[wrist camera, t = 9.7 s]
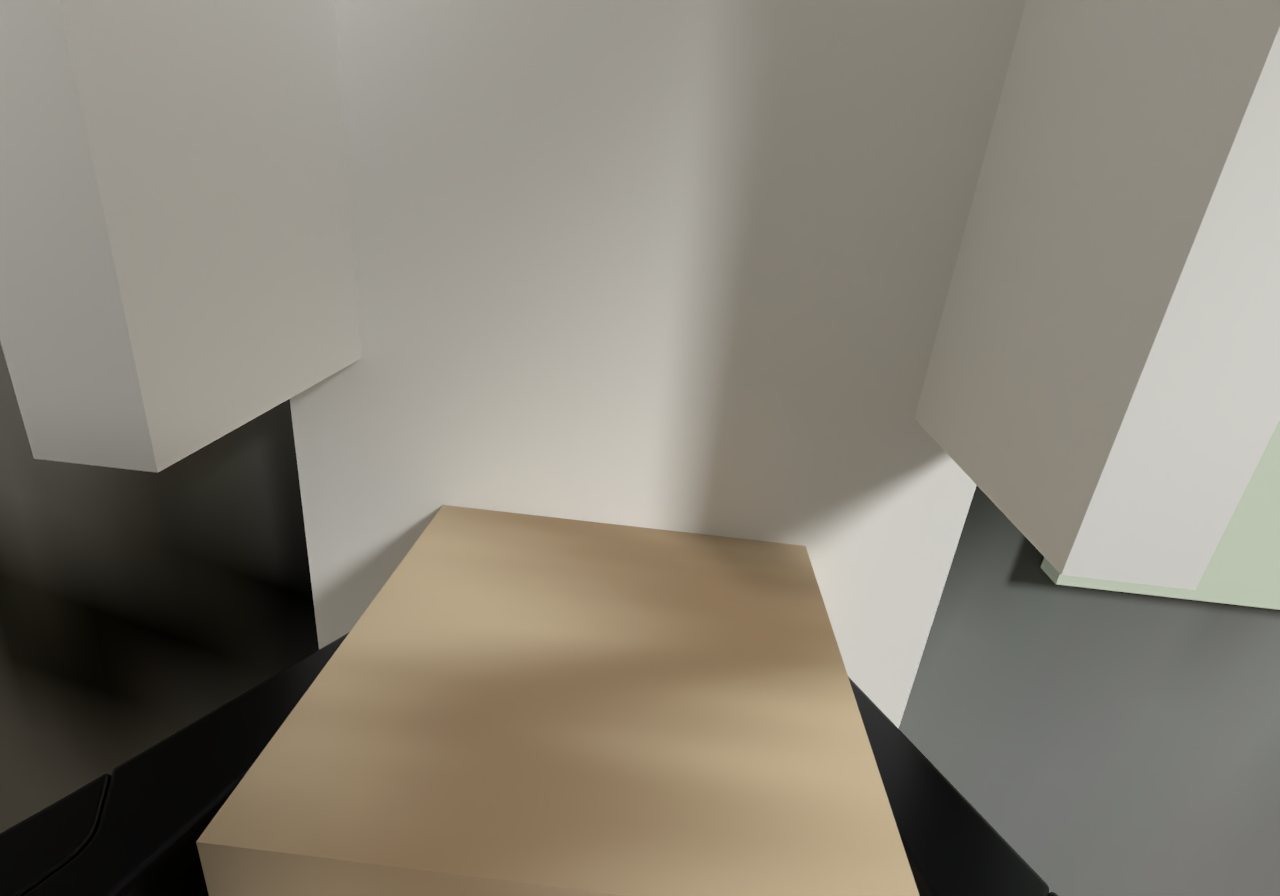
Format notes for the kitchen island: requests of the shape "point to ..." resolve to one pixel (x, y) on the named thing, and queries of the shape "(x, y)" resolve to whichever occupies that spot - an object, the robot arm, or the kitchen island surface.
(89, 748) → the kitchen island surface
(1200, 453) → the trap channel
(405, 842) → the maple block
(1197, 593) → the sage pad
